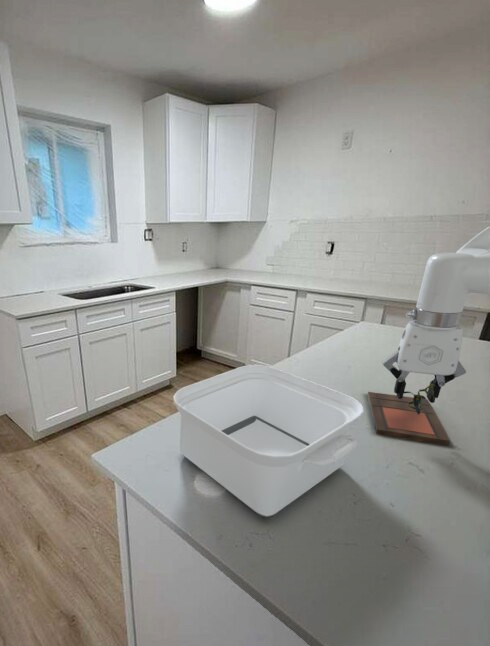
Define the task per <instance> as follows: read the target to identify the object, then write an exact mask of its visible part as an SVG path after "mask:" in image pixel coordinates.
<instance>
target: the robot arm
mask: <svg viewBox="0 0 490 646" xmlns="http://www.w3.org/2000/svg"><path fill="white" fill-rule="evenodd" d="M471 293H474V294H481V295H482V294H483V295H490V225H489V226H487V227H486V228H484V229H483V230H481V231H480V232H479V233H477V234H476V235H474V236H473V237H472V238H471V239H470V240H468V241H467V242H466V243H465V244H464V245H462V246H461V247H460V248H459V249H457V250H456V252H438V253H434V254H432V255H430V257H429V258H428V259H427V261H426V265H425V269H424V273H423V276H422V280H421V285H420V289H419V294H418V297H417V301H416V306H414V308H413V309H412V310H406V312H405V318H410V319H412V320H409V321H408V322H407V324H406V326H405V328H404V331H403V332H402V335H401V338H400V340H399V344H398V346H397V350H396V351H395V352H394V353H392V354H390V356H388V357H387V358H386V359H383V361H382V365H383V367H384V368H385V369H386V370H388V371H389V372H390V373H391V375H393V377H394V378H395V379H396V380H395V383H394V388H393V392H394V394H396V395H397V397H398V399H401V398H403V396H404V394H405V393H404V392H405V390H406V387H407V382H406V378H407V377H408V376H409V374H410V373H415V374H423V375H424V374H425V375H433V378H434V379H433V380H431V381H430V382H429V385H430V384H433V386H432V388H427V392H428V393H429V395H430V397H431V399H432V401H430V398H429V396H428V395H427V394H426V399H427V400H428V401H429V403H430V404H434V403H435V402H433V395H432V393H433V392H432V391H434V397H435V399H438V398H439V396H440V392H441V389H442V387H444V386H446V384H447V383H449V382H451V381H453V380H454V379H456V378H458V377H460V376H463V375H465V374H466V373H467V370H466V369H465V367H464V365H462V363H461V362H460V360H459V359H460V356H461V355H460V354H461V350H462V343H463V334H464V333H463V332H464V328H463V327H462V325H460V321H461V317H462V315H463V314H462V313H463V310H464V309H465V308H464V307H465V304H466V300H467V298H468V294H471ZM394 363H396V366H397V367H396V366H395V365H393V364H394Z"/></svg>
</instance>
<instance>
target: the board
mask: <svg viewBox="0 0 490 646" xmlns="http://www.w3.org/2000/svg"><path fill="white" fill-rule="evenodd" d="M366 396H367V401H368V405H369V409H370V413H371V418H372V422H373V425H374V431H375V434H376V435H381V436H382V435H383V436H389V437H393V438H394V437H395V438H401V439H408V440H414V441H421V442H426V443H431V444H437V445H438V444H439V445H445V446H450V444H451V443H450V442H451V440H450V438H449V436H448V434H447V432H446V431H445V429H444V427H443V425H442V423H441V421H440V420H439V418H438V416H437V414H436V413H435V410H434V408H433V407H432V405H431V402H429V400H428V398H426V399H422V398H421V404H420V405H419V406H418V407H419V409H421V408H420V406H421V407H422V408H423V409H422V410H420V414H419V415H418V414H417V412H416V410H415V409H412V408H411V407H409V406H408V403H409V402H413V398H414V396H413V397H412V396H405V395H403V398H401V399H398V397H397V394H396V395H395V394H389V393H382V392H381V393H380V392H375V391H374V392H372V391H367V394H366ZM410 406H412V407H414V405H413V404H410ZM414 408H415V407H414Z"/></svg>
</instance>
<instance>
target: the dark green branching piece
mask: <svg viewBox="0 0 490 646" xmlns="http://www.w3.org/2000/svg"><path fill="white" fill-rule="evenodd" d="M432 386H433V384H430V383H429V385H427V386H426V387H425V388H422V389H419V390H418V391H417V394H414V393H413V392H411V391H409V390H408V391H404V394H411V395H413V402H409V403H408V406H409V407H411V408H412V409H415V410H416V412H417V414H418V415H419V414H420V410H422V409H423V408H422V407H421V406H420V408H421V409H419V407H418V406H419V405H420V404H421V399H427V397H425V396H424V395H421V393H420V392H425V394H426V396H427V395H428V396H429V398H430V401H432V399H431V397H430V395H429V393H428V389H429V388H432ZM432 392H433V393H432V395H433V402H434V403H435V401H436V398H435V397H434V391H432ZM410 404H413V405H414V407H415V408H414V407H412V406H410Z"/></svg>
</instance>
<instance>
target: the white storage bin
mask: <svg viewBox="0 0 490 646" xmlns="http://www.w3.org/2000/svg"><path fill="white" fill-rule="evenodd" d="M172 398H173V404H174V405H175V407H176V409H177V411H178V413H180V421H179V422H180V424H179V425H180V426H179V428H180V429H179V450H180V454H182V456H183V457H184V458H185V459H187V460H188V461H189V462H190V463H191V464H193V465H194V466H196V468H198V469H199V470H200V471H202V472H203V473H204V474H206V475H207V476H208V477H209V478H211V479H212V480H213V481H215V483H217V484H218V485H219V486H221V488H223V489H224V490H226V491H227V492H229V494H231V495H232V496H234V497H235V498H236V499H237V500H239V501H240V502H241V503H242V504H244V505H245V506H246V507H248V508H249V509H250V510H252V511H253V512H254V513H256V514H257V516H260V517H262V518H272V517H274V516H275V515H277V513H279V512H280V511H282V510H283V509H284V508H286V507H288V506H289V505H290V504H292V503H293V502H294V501H296V500H297V499H299V498H300V497H302V496H303V495H304V494H306V493H307V492H308V491H310V490H311V489H313V488H314V487H315V486H316V485H318V484H319V483H321V482H322V481H323V480H325V479H326V478H328V477H329V476H331V475H332V474H333V473H335V472H336V471H337V470H339V469H340V468H342V466H343V465H344V464H345V462H346V459H347V458H346V457H347V456H348V455H350V454H351V453H352V452H354V450H355V449H356V446H357V444H358V439H357V438H356V437H354V436H352V435H351V433H352V427H354V425H356V423H357V422H358V421H359V419H360V418H361V417H362V416H363V414H364V413H365V410H364V406H363V404H362V403H361V402H360V401H358V400H357V399H356V398H354V397H353V396H350V395H349V394H346V393H344V392H341V391H339V390H335V389H333V388H330V387H327V386H325V385H323V384H319V383H317V382H314V381H312V380H309V379H306V378H304V377H301V376H298V375H296V374H292V373H290V372H287V371H285V370H282V369H279V368H277V367H273V366H269V365H263V364H247V365H243V366H239V367H237V368H236V367H235V368H233V369H230V370H228V371H225V372H222V373H220V374H217V375H214V376H212V377H208V378H206V379H202V380H200V381H197V382H194V383H192V384H188V385H186V386H184V387H182V388H179V389H178V390H176V391H175V393H174V394H173V396H172Z"/></svg>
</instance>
